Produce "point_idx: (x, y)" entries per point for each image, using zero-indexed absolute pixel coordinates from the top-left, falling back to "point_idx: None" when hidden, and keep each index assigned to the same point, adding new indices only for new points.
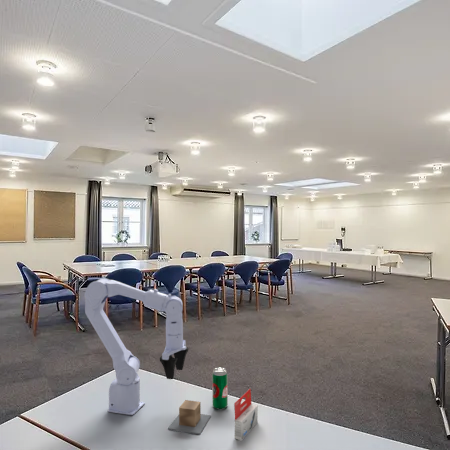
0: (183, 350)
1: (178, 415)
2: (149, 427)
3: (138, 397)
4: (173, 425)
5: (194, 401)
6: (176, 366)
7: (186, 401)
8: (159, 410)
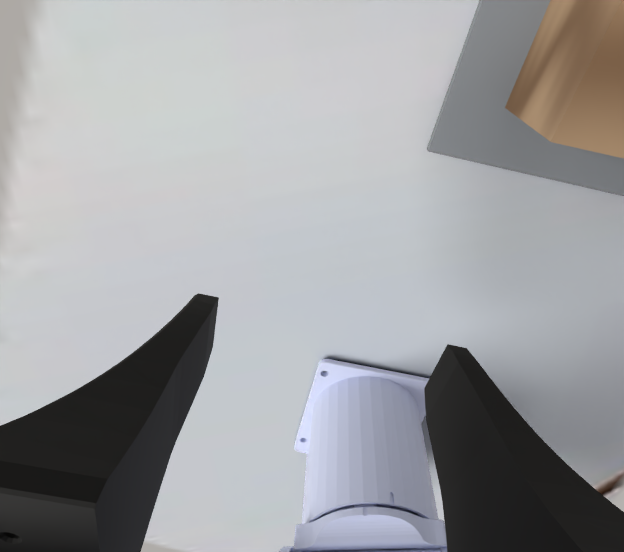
0: (111, 522)
1: (485, 159)
2: (569, 290)
3: (379, 418)
4: (609, 168)
5: (609, 41)
6: (202, 372)
7: (586, 126)
8: (391, 278)
